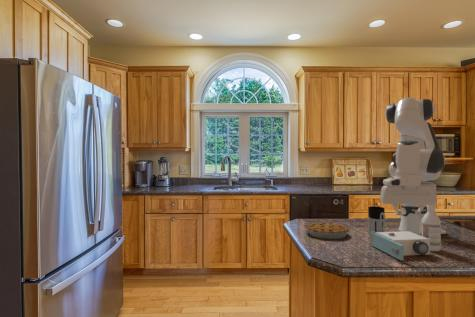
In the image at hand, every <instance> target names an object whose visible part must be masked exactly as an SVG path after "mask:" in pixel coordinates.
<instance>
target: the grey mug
mask: <svg viewBox="0 0 475 317" xmlns="http://www.w3.org/2000/svg"><path fill="white" fill-rule="evenodd" d="M367 208H368V210H367V212H368V213H367V236H366V237H367V238H369V239H372V231H374V232H375V233H376V232H386V215H385V214H386V213H385V207H383V206H376V205H375V206H368V207H367Z"/></svg>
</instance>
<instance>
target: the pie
mask: <svg viewBox="0 0 475 317" xmlns="http://www.w3.org/2000/svg"><path fill="white" fill-rule="evenodd" d="M305 229H306V230H307V232H308V234H309V236H311V237H314V238H318V239H328V240H341V239H344V238H346V237H347V234H348V233H349V231H350V229H349V227H348V226H346V225H343V224H340V223H332V222H329V223H328V222H315V223H313V222H311V223H308V224H307V225H306V227H305Z"/></svg>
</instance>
